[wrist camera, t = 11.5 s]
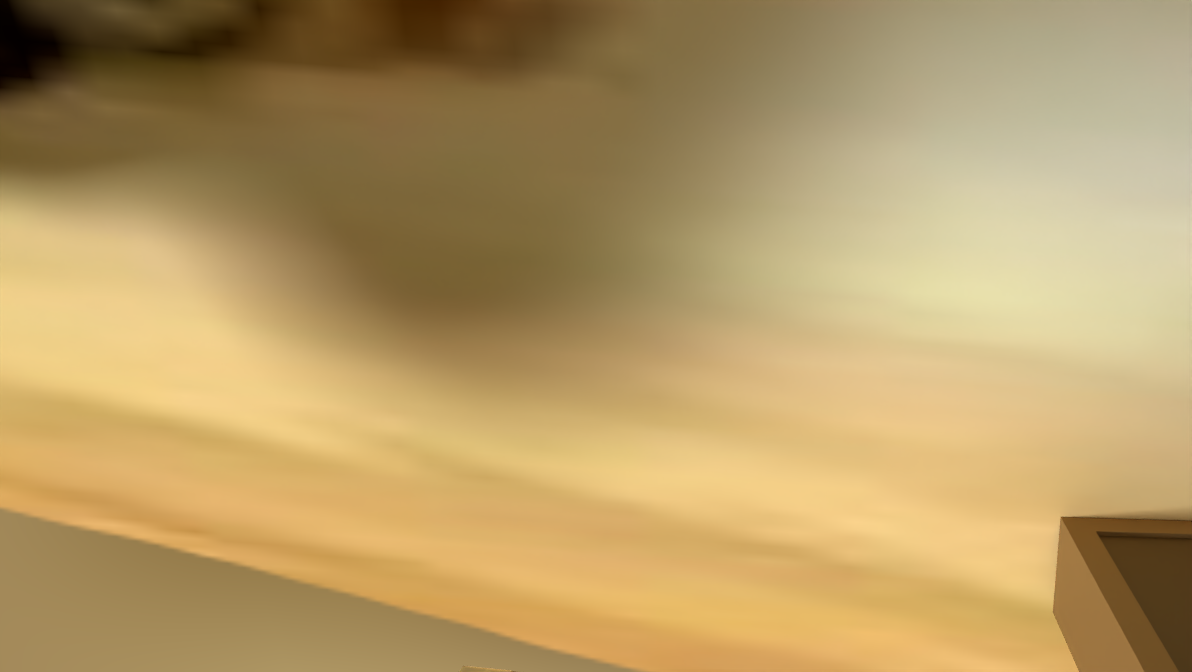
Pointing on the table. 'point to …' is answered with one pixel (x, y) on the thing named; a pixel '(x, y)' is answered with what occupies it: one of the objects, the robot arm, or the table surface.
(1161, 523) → the photo frame
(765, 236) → the table surface
